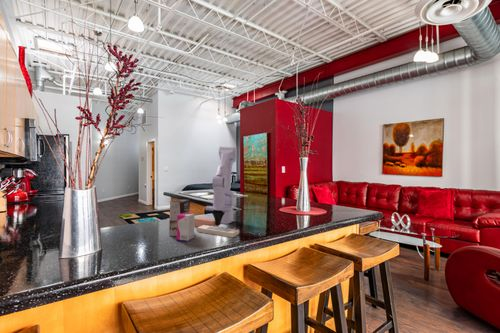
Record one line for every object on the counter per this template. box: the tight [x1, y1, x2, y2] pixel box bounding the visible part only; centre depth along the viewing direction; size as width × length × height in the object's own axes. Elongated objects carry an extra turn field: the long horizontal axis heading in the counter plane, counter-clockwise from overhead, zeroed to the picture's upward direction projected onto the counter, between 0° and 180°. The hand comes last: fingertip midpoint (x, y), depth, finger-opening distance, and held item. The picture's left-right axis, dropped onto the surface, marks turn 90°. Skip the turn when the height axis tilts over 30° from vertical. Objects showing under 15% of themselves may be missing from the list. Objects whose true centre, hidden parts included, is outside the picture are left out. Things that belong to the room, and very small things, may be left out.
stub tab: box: [194, 216, 219, 228], centre depth 139 cm, size 5×12×4 cm, turn 67°
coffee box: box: [168, 198, 191, 237], centre depth 125 cm, size 9×6×16 cm
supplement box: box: [176, 212, 195, 243], centre depth 117 cm, size 6×6×12 cm
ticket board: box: [196, 225, 240, 238], centre depth 129 cm, size 7×20×2 cm, turn 67°
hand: (218, 225), depth 136 cm, fingers closed
